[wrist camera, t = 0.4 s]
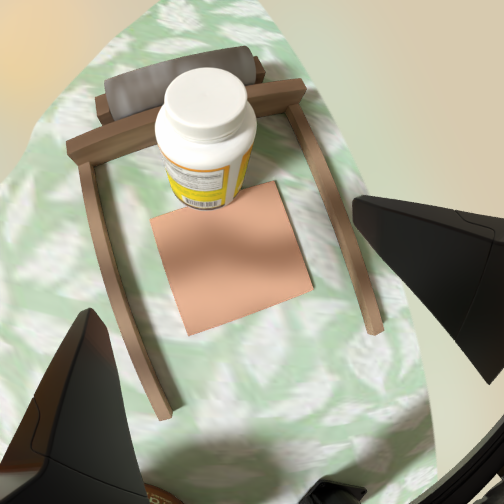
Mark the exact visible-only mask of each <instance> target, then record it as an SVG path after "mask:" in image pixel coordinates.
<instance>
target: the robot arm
mask: <svg viewBox="0 0 504 504" xmlns="http://www.w3.org/2000/svg"><path fill="white" fill-rule="evenodd" d="M352 213H353V223H354V225H355V226H356V228H357V229H358V230H359V231H360V233H361V234H362V235H363V236H364V238H365V239H366V240H367V241H368V243H369V244H370V245H371V246H372V248H373V249H374V250H375V251H376V253H377V254H378V255H379V256H380V257H381V258H382V259H383V260H384V262H385V263H386V264H387V265H388V266H389V267H390V268H391V269H392V270H393V271H394V272H395V273H396V274H397V275H398V276H399V277H400V278H401V280H402V281H403V282H404V283H405V284H406V285H407V286H408V287H409V288H410V289H411V290H412V292H413V293H414V294H415V295H416V296H417V297H418V298H419V299H420V300H421V302H422V303H423V304H424V305H425V306H426V307H427V309H428V310H429V311H430V312H431V313H432V314H433V316H434V317H435V318H436V319H437V320H438V321H439V323H440V324H441V325H442V326H443V327H444V329H445V330H446V331H447V332H448V333H449V334H450V336H451V337H452V338H453V340H455V342H456V343H457V345H458V346H459V347H460V348H461V350H462V351H463V352H464V353H465V355H466V356H467V357H468V359H469V360H470V361H471V363H472V364H473V365H474V367H475V368H476V369H477V371H478V372H479V373H480V375H481V376H482V377H483V379H484V380H485V381H486V383H487V384H489V385H490V384H491V382H492V381H493V380H494V379H495V378H496V377H497V376H498V374H499V373H500V372H501V371H502V370H503V368H504V218H498V217H491V216H485V215H479V214H474V213H468V212H464V211H458V210H455V211H454V210H453V209H448V208H443V207H437V206H432V205H426V204H420V203H414V202H408V201H402V200H395V199H388V198H381V197H375V196H367V195H361V196H359V197H356V198H354V199H353V201H352ZM496 474H498V475H499V476H500V478H501V479H502V481H500V482H499V483H497V484H496V485H495V486H494V487H492V488H491V489H490V490H489V491H488V492H487V493H486V494H485V495H484V496H483V498H482V499H479V500H476V501H475V502H474V503H473V504H504V415H503V416H502V417H501V419H500V420H499V421H498V422H497V423H496V425H495V426H494V427H493V428H492V429H491V430H490V431H489V432H488V434H487V435H486V436H485V437H484V438H483V439H482V440H481V441H480V442H479V443H478V444H477V445H476V446H475V447H474V448H473V449H472V450H471V451H470V452H469V453H468V454H467V455H466V456H465V457H464V458H463V459H462V460H461V461H460V462H459V463H458V464H457V465H456V466H455V467H454V468H452V469H451V470H450V471H449V472H448V473H447V474H446V475H445V476H443V477H442V478H441V479H440V480H439V481H437V482H436V483H435V484H434V485H433V486H431V487H430V488H429V489H428V490H426V491H425V492H424V493H422V494H421V495H420V496H418V497H417V498H416V499H414V500H413V501H412V502H410V503H409V504H467V503H468V502H470V501H471V500H472V499H473V498H474V497H475V496H476V495H477V494H478V493H479V492H480V491H481V490H482V489H483V488H484V487H485V486H486V485H487V484H488V483H489V481H490V480H491V479H492V478H493V477H494V476H495V475H496ZM321 484H322V485H321ZM366 493H367V490H366V489H365V488H364V487H358V486H352V485H347V484H342V483H337V482H332V481H328V480H319V481H318V482H317V483H316V484H315V485H314V487H313V488H312V489H311V490H310V491H309V493H308V494H307V495H306V496H305V497H304V499H303V500H302V501H301V502H300V503H299V504H361V503H360V502H359V501H360V500H361V499H362V498H363V496H364V495H365V494H366ZM147 497H148V496H147V493H146V490H145V486H144V483H143V480H142V477H141V473H140V470H139V466H138V463H137V459H136V456H135V452H134V448H133V444H132V440H131V436H130V431H129V427H128V423H127V418H126V413H125V408H124V403H123V398H122V392H121V386H120V380H119V375H118V370H117V366H116V362H115V358H114V354H113V350H112V346H111V342H110V338H109V333H108V330H107V327H106V326H105V324H104V323H103V321H102V320H101V319H100V317H99V316H98V315H97V313H96V312H95V311H94V310H93V309H92V308H88V309H85V310H83V311H81V312H80V313H79V314H78V316H77V318H76V319H75V321H74V322H73V324H72V326H71V327H70V329H69V331H68V333H67V334H66V336H65V338H64V339H63V341H62V343H61V345H60V346H59V348H58V350H57V352H56V354H55V355H54V357H53V359H52V361H51V363H50V365H49V366H48V368H47V370H46V372H45V374H44V376H43V378H42V380H41V382H40V384H39V386H38V388H37V390H36V392H35V394H34V397H33V398H32V400H31V402H30V404H29V406H28V408H27V410H26V412H25V415H24V417H23V419H22V421H21V423H20V425H19V427H18V429H17V431H16V433H15V435H14V437H13V439H12V441H11V443H10V445H9V447H8V449H7V451H6V453H5V455H4V457H3V459H2V461H1V463H0V504H150V501H149V498H147Z"/></svg>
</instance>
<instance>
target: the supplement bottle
mask: <svg viewBox="0 0 504 504" xmlns="http://www.w3.org/2000/svg"><path fill="white" fill-rule="evenodd" d="M164 102H165V103H164V105H163V106H162V107H161V109H160V111H159V113H158V115H157V119H156V123H155V135H156V139H157V143H158V146H159V149H160V153H161V156H162V159H163V162H164V166H165V169H166V172H167V175H168V178H169V182H170V185H171V188H172V190H173V192H174V194H175V196H176V197H177V198H178V199H179V200H180V201H181V202H182V203H183V204H184V205H186V206H187V207H189V208H192V209H195V210H199V211H213V210H217V209H220V208H222V207H224V206H226V205H228V204H229V203H230V202H232V201H233V200H234V199H235V198H236V196H237V195H238V193H239V192H240V190H241V187H242V184H243V181H244V177H245V173H246V169H247V165H248V162H249V158H250V154H251V150H252V147H253V143H254V139H255V135H256V130H257V121H256V116H255V113H254V110H253V108H252V106H251V105H250V103H249V102H248V101H247V91H246V88H245V86H244V84H243V83H242V82H241V80H240V79H239V78H237V77H236V76H235V75H233V74H232V73H230V72H228V71H225V70H222V69H218V68H207V67H206V68H197V69H193V70H190V71H187V72H185V73H183V74H181V75H179V76H178V77H177V78H175V79H174V80H173V81H172V82H171V84H170V85H169V86H168V88H167V90H166V93H165V99H164Z"/></svg>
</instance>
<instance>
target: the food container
mask: <svg viewBox="0 0 504 504" xmlns="http://www.w3.org/2000/svg"><path fill="white" fill-rule="evenodd" d="M144 486H145V490H146V493H147V496H148V497H147V498H149V501H150V504H184V503H183V502H182V501H181V500H179V499H178V498H177V497H175V496H174V495H173V494H171V493H169V492H167V491H165V490H163V489H161V488H159V487H156V486H153V485H149V484H145V483H144Z"/></svg>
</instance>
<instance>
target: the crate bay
mask: <svg viewBox="0 0 504 504" xmlns="http://www.w3.org/2000/svg"><path fill="white" fill-rule="evenodd" d="M206 67H207V68H218V69H222V70H225V71H228V72H230V73H232V74H233V75H235V76H236V77H237V78H239V79H240V80H241V82H242V83H243V84H244V86H245V88H246V91H247V101H248V102H249V103H250V105H251V106H252V108H253V110H254V113H255V116H256V118H259V117H264V116H269V115H274V114H280V113H286V116H287V118H288V120H289V122H290V124H291V126H292V129H293V131H294V133H295V135H296V137H297V140H298V142H299V144H300V146H301V149H302V151H303V153H304V156H305V158H306V160H307V163H308V165H309V167H310V170H311V172H312V175H313V177H314V179H315V182H316V184H317V187H318V189H319V192H320V194H321V197H322V199H323V202H324V205H325V207H326V210H327V212H328V215H329V218H330V220H331V223H332V226H333V228H334V231H335V234H336V237H337V239H338V242H339V245H340V248H341V251H342V254H343V256H344V259H345V262H346V265H347V268H348V271H349V274H350V277H351V280H352V283H353V287H354V290H355V293H356V296H357V299H358V303H359V306H360V309H361V312H362V316H363V319H364V323H365V326H366V330H367V333H368V334H370V335H374V336H375V335H377V334H379V333H381V332H383V331H384V327H383V323H382V319H381V316H380V312H379V309H378V305H377V302H376V298H375V295H374V292H373V288H372V285H371V282H370V279H369V276H368V273H367V269H366V266H365V263H364V260H363V257H362V254H361V251H360V248H359V246H358V243H357V240H356V237H355V234H354V231H353V229H352V226H351V223H350V221H349V218H348V215H347V213H346V210H345V207H344V205H343V202H342V200H341V197H340V195H339V192H338V190H337V187H336V185H335V182H334V180H333V177H332V175H331V173H330V170H329V168H328V166H327V163H326V161H325V159H324V156H323V154H322V152H321V150H320V147H319V145H318V143H317V141H316V139H315V136H314V134H313V132H312V130H311V128H310V126H309V124H308V121H307V119H306V117H305V115H304V113H303V111H302V109H301V107H300V105H299V103H300V101H301V99H302V97H303V95H304V94H305V92H306V90H307V88H306V86H305V84H304V83H303V81H302V79H301V78H298V79H290V80H282V81H274V82H267V83H262V82H263V79H264V76H265V73H266V72H265V70H264V68H263V66H262V64H261V63H260V61H259V59H258V57H257V56H254V57H253V55H252V53H251V51H250V49H249V48H248V47H247V46H239V47H232V48H226V49H220V50H214V51H209V52H203V53H198V54H194V55H189V56H185V57H180V58H176V59H172V60H168V61H164V62H160V63H157V64H153V65H150V66H146V67H143V68H139V69H136V70H133V71H130V72H127V73H124V74H121V75H118V76H115V77H112V78H109V79H107V80H105V81H104V86H105V94H102V95H100V96H97V97H95V103H96V111H97V117H98V119H99V121H100V122H101V124H102V126H101V127H99V128H96V129H94V130H91V131H89V132H86V133H84V134H82V135H79V136H77V137H75V138H72V139H70V140H68V141H66V147H67V155H68V156H69V157H70V158H71V159H72V160H73V161H74V162H75V163H76V164H77V165H78V169H79V175H80V181H81V187H82V193H83V198H84V203H85V208H86V213H87V218H88V223H89V227H90V231H91V236H92V240H93V244H94V248H95V252H96V256H97V259H98V263H99V267H100V270H101V274H102V277H103V281H104V284H105V287H106V291H107V294H108V297H109V300H110V303H111V306H112V309H113V312H114V315H115V318H116V321H117V324H118V326H119V329H120V332H121V335H122V337H123V340H124V342H125V345H126V348H127V350H128V353H129V355H130V358H131V360H132V363H133V365H134V367H135V370H136V372H137V374H138V377H139V379H140V381H141V384H142V386H143V388H144V390H145V392H146V395H147V397H148V399H149V401H150V403H151V405H152V407H153V409H154V411H155V413H156V415H157V417H158V419H159V421H162V420H166V419H170V418H172V414H173V411H172V409H171V407H170V405H169V403H168V400H167V398H166V396H165V394H164V392H163V390H162V387H161V385H160V383H159V381H158V378H157V376H156V374H155V371H154V369H153V367H152V364H151V362H150V360H149V357H148V355H147V352H146V350H145V347H144V345H143V342H142V339H141V337H140V334H139V331H138V329H137V326H136V323H135V320H134V318H133V315H132V312H131V309H130V306H129V303H128V300H127V297H126V294H125V291H124V288H123V285H122V282H121V278H120V275H119V272H118V268H117V265H116V262H115V258H114V254H113V251H112V247H111V243H110V240H109V236H108V232H107V228H106V224H105V219H104V215H103V211H102V206H101V202H100V197H99V192H98V187H97V182H96V177H95V171H94V167H95V166H98V165H100V164H103V163H105V162H108V161H111V160H113V159H116V158H119V157H121V156H124V155H127V154H130V153H132V152H135V151H138V150H141V149H144V148H147V147H150V146H153V145H156V144H158V143H157V139H156V135H155V123H156V119H157V115H158V113H159V111H160V109H161V107H162V106H163V105H164V103H165V102H164V99H165V93H166V90H167V88H168V86H169V85H170V84H171V82H172V81H173V80H174V79H175V78H177V77H178V76H179V75H181V74H183V73H185V72H187V71H190V70H193V69H197V68H206ZM149 220H150V223H151V227H152V230H153V233H154V237H155V240H156V243H157V247H158V250H159V253H160V256H161V259H162V263H163V266H164V269H165V272H166V275H167V278H168V281H169V284H170V287H171V290H172V293H173V295H174V298H175V301H176V304H177V307H178V310H179V312H180V315H181V318H182V320H183V323H184V326H185V329H186V331H187V334H188V336H190V335H193V334H196V333H199V332H202V331H205V330H208V329H211V328H214V327H217V326H219V325H222V324H225V323H228V322H231V321H233V320H236V319H239V318H242V317H244V316H247V315H250V314H253V313H255V312H258V311H261V310H263V309H266V308H268V307H271V306H274V305H276V304H279V303H281V302H284V301H287V300H289V299H292V298H294V297H297V296H299V295H302V294H304V293H307V292H309V291H312V290H314V289H313V286H312V283H311V280H310V277H309V274H308V272H307V269H306V266H305V263H304V260H303V257H302V255H301V252H300V249H299V246H298V243H297V241H296V238H295V235H294V232H293V230H292V227H291V224H290V222H289V219H288V216H287V213H286V211H285V208H284V205H283V203H282V200H281V198H280V195H279V192H278V190H277V187H276V185H275V182H274V181H270V182H267V183H263V184H260V185H256V186H253V187H249V188H246V189H242V190H240V192H239V193H238V195H237V196H236V198H235V199H234V200H233V201H232V202H230V203H229V204H228V205H226V206H224V207H222V208H220V209H217V210H213V211H199V210H195V209H192V208H189V207H184V208H181V209H178V210H175V211H172V212H169V213H166V214H164V215H161V216H158V217H155V218H152V219H149Z"/></svg>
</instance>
